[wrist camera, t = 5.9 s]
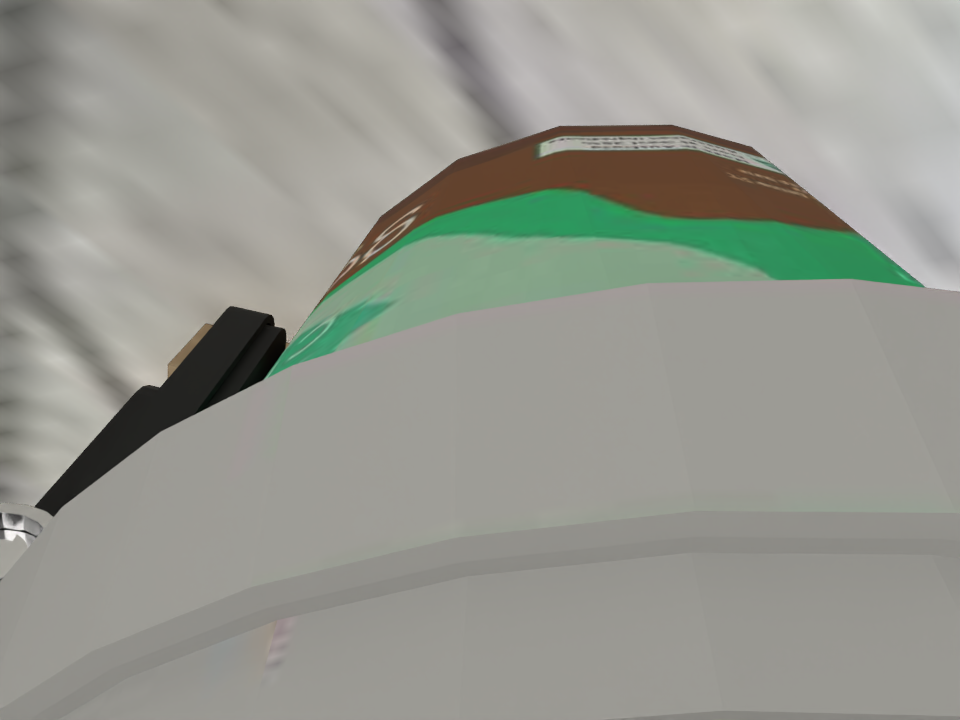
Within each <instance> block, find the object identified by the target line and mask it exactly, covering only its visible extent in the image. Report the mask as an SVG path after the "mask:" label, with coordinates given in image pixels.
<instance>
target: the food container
mask: <svg viewBox="0 0 960 720" xmlns="http://www.w3.org/2000/svg"><path fill="white" fill-rule="evenodd" d="M0 720H960V292H957V291H948V290H940V289H931V288H926V287H925V286H923V285H922V284H921V283H920V282H918V281H917V280H916V279H915V278H913V277H912V276H911V275H910V274H908V273H907V272H906V271H905V270H904V269H902V268H901V267H900V266H899V265H897V264H896V263H895V262H894V261H892V260H891V259H890V258H889V257H887V256H886V255H885V254H884V253H882V252H881V251H880V250H879V249H877V248H876V247H875V246H874V245H873V244H871V243H870V242H869V241H868V240H866V239H865V238H864V237H863V236H861V235H860V234H859V233H858V232H856V231H855V230H854V229H853V228H851V227H850V226H849V225H848V224H846V223H845V222H844V221H843V220H842V219H840V218H839V217H838V216H837V215H835V214H834V213H833V212H832V211H830V210H829V209H828V208H827V207H825V206H824V205H823V204H822V203H820V202H819V201H818V200H817V199H815V198H814V197H813V196H812V195H811V194H809V193H808V192H807V191H806V190H804V189H803V188H802V187H801V186H799V185H798V184H797V183H796V182H794V181H793V180H792V179H791V178H789V177H788V176H787V175H786V174H784V173H783V172H782V171H781V170H780V169H778V168H777V167H776V166H775V165H773V164H772V163H771V162H770V161H768V160H767V159H766V158H765V157H763V156H762V155H761V154H760V153H758V152H757V151H756V150H755V149H753V148H752V147H750V146H746V145H743V144H739V143H736V142H732V141H728V140H725V139H721V138H718V137H714V136H710V135H707V134H703V133H699V132H696V131H692V130H689V129H685V128H681V127H678V126H674V125H611V126H558V127H555V128H552V129H549V130H546V131H543V132H540V133H537V134H534V135H531V136H528V137H525V138H522V139H518V140H515V141H512V142H509V143H506V144H503V145H500V146H497V147H494V148H491V149H488V150H485V151H482V152H479V153H476V154H472V155H469V156H466V157H463V158H460V159H458V160H456V161H455V162H454V163H452V164H451V165H450V166H448V167H447V168H446V169H444V170H443V171H441V172H440V173H439V174H437V175H436V176H435V177H433V178H432V179H431V180H429V181H428V182H427V183H425V184H424V185H423V186H421V187H420V188H419V189H417V190H416V191H415V192H413V193H412V194H411V195H409V196H408V197H406V198H405V199H404V200H402V201H401V202H400V203H398V204H397V205H396V206H394V207H393V208H392V209H390V210H389V211H388V212H386V213H385V214H384V215H382V216H381V217H380V218H379V220H378V221H377V222H376V224H375V225H374V227H373V228H372V229H371V231H370V232H369V234H368V235H367V236H366V238H365V239H364V241H363V242H362V243H361V245H360V246H359V248H358V249H357V250H356V252H355V253H354V254H353V256H352V257H351V259H350V260H349V261H348V263H347V264H346V266H345V267H344V268H343V270H342V271H341V273H340V274H339V275H338V277H337V278H336V280H335V281H334V282H333V284H332V285H331V287H330V288H329V289H328V291H327V292H326V293H325V295H324V296H323V298H322V299H321V300H320V302H319V303H318V305H317V306H316V307H315V309H314V310H313V312H312V313H311V314H310V316H309V317H308V319H307V320H306V321H305V323H304V324H303V326H302V327H301V328H300V330H299V331H298V332H297V334H296V335H295V337H294V338H293V339H292V341H291V342H290V344H289V345H288V346H287V348H286V349H285V351H284V352H283V353H282V355H281V356H280V358H279V359H278V360H277V362H276V363H275V364H274V366H273V367H272V369H271V370H270V371H269V373H268V374H267V376H266V377H265V378H264V380H263V381H261V382H259V383H257V384H255V385H253V386H251V387H249V388H247V389H245V390H243V391H241V392H239V393H237V394H235V395H233V396H231V397H229V398H227V399H225V400H223V401H221V402H219V403H217V404H215V405H213V406H211V407H209V408H207V409H205V410H203V411H201V412H199V413H197V414H195V415H193V416H191V417H189V418H187V419H185V420H183V421H181V422H179V423H177V424H175V425H173V426H171V427H169V428H167V429H165V430H163V431H161V432H160V433H158V434H157V435H156V436H154V437H153V438H152V439H151V440H149V441H148V442H147V443H145V444H144V445H143V446H141V447H140V448H139V449H137V450H136V451H135V452H134V453H132V454H131V455H130V456H128V457H127V458H126V459H124V460H123V461H122V462H120V463H119V464H118V465H117V466H115V467H114V468H113V469H111V470H110V471H109V472H107V473H106V474H105V475H103V476H102V477H101V478H100V479H98V480H97V481H96V482H94V483H93V484H92V485H90V486H89V487H88V488H86V489H85V490H84V491H83V492H81V493H80V494H79V495H77V496H76V497H75V498H73V499H72V500H71V501H69V502H68V503H67V504H65V505H64V506H63V507H62V508H61V509H60V510H59V511H58V513H57V514H56V515H55V516H54V517H53V519H52V520H51V521H50V522H49V523H48V525H47V526H46V527H45V528H44V529H43V531H42V532H41V533H40V534H39V535H38V537H37V538H36V539H35V540H34V541H33V543H32V544H31V545H30V546H29V547H28V549H27V550H26V551H25V552H24V553H23V555H22V556H21V557H20V558H19V559H18V561H17V562H16V563H15V564H14V565H13V567H12V568H11V569H10V570H9V571H8V573H7V574H6V575H5V576H4V577H3V579H2V580H1V581H0Z"/></svg>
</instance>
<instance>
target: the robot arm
mask: <svg viewBox="0 0 960 720" xmlns="http://www.w3.org/2000/svg"><path fill="white" fill-rule="evenodd" d="M285 349H286V331H285V329H283V328H279V327H274V318H273V316H272V315H269V314H265V313H260V312H256V311H251V310H247V309H243V308H238V307H234V306H230V307H229V308H228V309H226V311H225V312H224V313H223V314H222V315H221V316H220V318H219V319H218V320H217V321H216V322H215V324H214V325H213V326H212V327H211V328H210V329H209V331H208V332H207V333H206V334H205V335H204V337H203V338H202V339H201V340H200V341H199V342H198V344H197V345H196V346H195V347H194V348H193V350H192V351H191V352H190V353H189V354H188V355H187V357H186V358H185V359H184V360H183V361H182V362H181V364H180V365H179V366H178V367H177V368H176V370H175V371H174V372H173V373H172V374H171V375H170V377H169V378H168V379H167V380H166V381H165V383H164V384H163V385H162V386H161V387H155V386H151V385H147V386H143V387H142V388H140V389H139V390H138V391H137V392H136V393H135V394H134V395H133V396H132V397H131V398H130V399H129V401H128V402H127V403H126V404H125V405H124V406H123V407H122V408H121V410H120V411H119V412H118V413H117V414H116V415H115V416H114V417H113V419H112V420H111V421H110V422H109V423H108V424H107V425H106V426H105V428H104V429H103V430H102V431H101V432H100V433H99V434H98V436H97V437H96V438H95V439H94V440H93V441H92V442H91V443H90V445H89V446H88V447H87V448H86V449H85V450H84V451H83V452H82V454H81V455H80V456H79V457H78V458H77V459H76V460H75V461H74V463H73V464H72V465H71V466H70V467H69V468H68V469H67V470H66V472H65V473H64V474H63V475H62V476H61V477H60V478H59V480H58V481H57V482H56V483H55V484H54V485H53V486H52V487H51V489H50V490H49V491H48V492H47V493H46V494H45V495H44V496H43V498H42V499H41V500H40V501H39V502H38V503H37V504H36V505H35V507H32V506H29V505H24V504H14V503H0V581H1V580H2V579H3V577H4V576H5V575H6V574H7V573H8V571H9V570H10V569H11V568H12V567H13V565H14V564H15V563H16V562H17V561H18V559H19V558H20V557H21V556H22V555H23V553H24V552H25V551H26V550H27V549H28V547H29V546H30V545H31V544H32V543H33V541H34V540H35V539H36V538H37V537H38V535H39V534H40V533H41V532H42V531H43V529H44V528H45V527H46V526H47V525H48V523H49V522H50V521H51V520H52V519H53V517H54V516H55V515H56V514H57V513H58V511H59V510H60V509H61V508H62V507H63V506H64V505H65V504H67V503H68V502H69V501H71V500H72V499H73V498H75V497H76V496H77V495H79V494H80V493H81V492H83V491H84V490H85V489H86V488H88V487H89V486H90V485H92V484H93V483H94V482H96V481H97V480H98V479H100V478H101V477H102V476H103V475H105V474H106V473H107V472H109V471H110V470H111V469H113V468H114V467H115V466H117V465H118V464H119V463H120V462H122V461H123V460H124V459H126V458H127V457H128V456H130V455H131V454H132V453H134V452H135V451H136V450H137V449H139V448H140V447H141V446H143V445H144V444H145V443H147V442H148V441H149V440H151V439H152V438H153V437H154V436H156V435H157V434H158V433H160V432H161V431H163V430H165V429H167V428H169V427H171V426H173V425H175V424H177V423H179V422H181V421H183V420H185V419H187V418H189V417H191V416H193V415H195V414H197V413H199V412H201V411H203V410H205V409H207V408H209V407H211V406H213V405H215V404H217V403H219V402H221V401H223V400H225V399H227V398H229V397H231V396H233V395H235V394H237V393H239V392H241V391H243V390H245V389H247V388H249V387H251V386H253V385H255V384H257V383H259V382H261V381H263V380H264V378H265V377H266V376H267V374H268V373H269V371H270V370H271V369H272V367H273V366H274V364H275V363H276V362H277V360H278V359H279V358H280V356H281V355H282V353H283V352H284V351H285Z"/></svg>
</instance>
